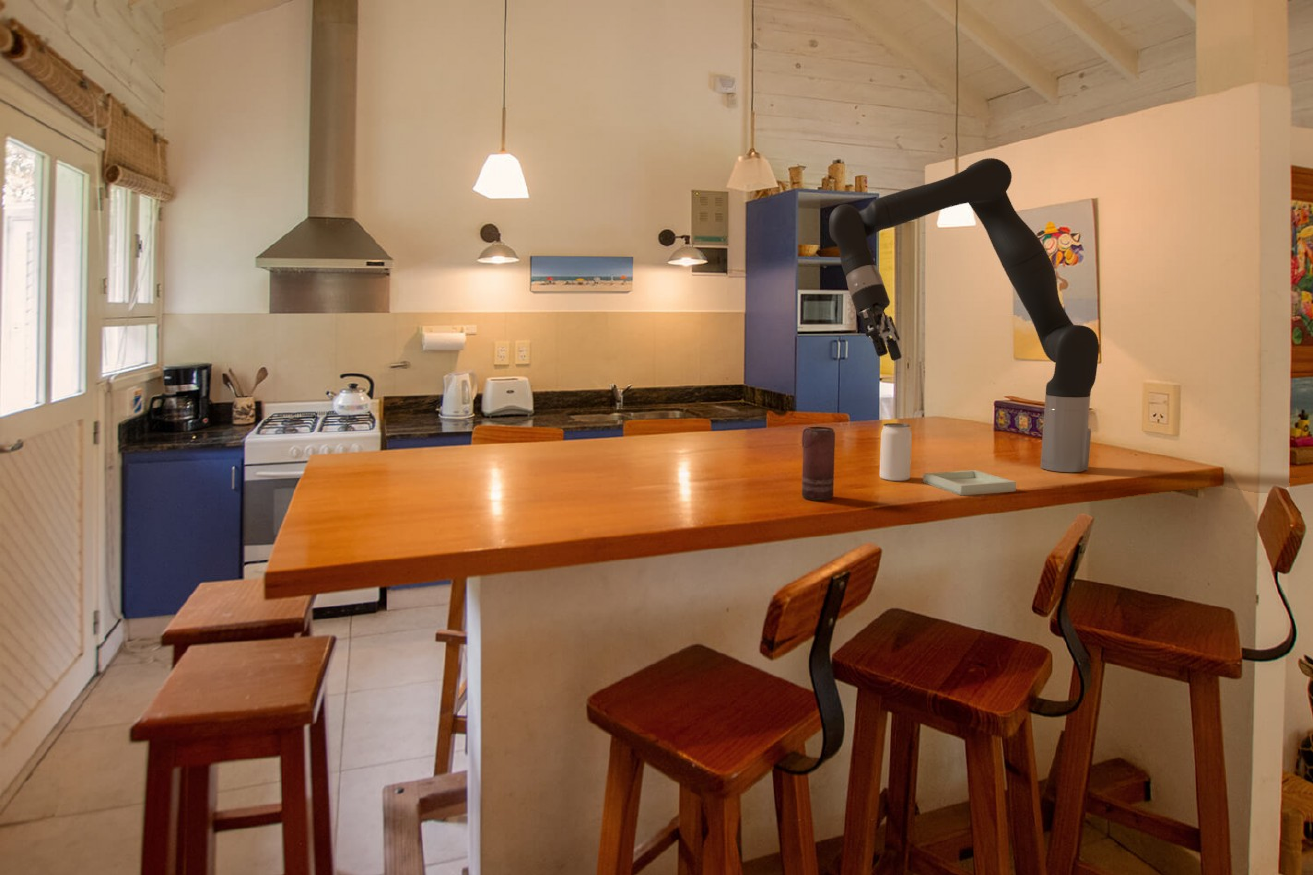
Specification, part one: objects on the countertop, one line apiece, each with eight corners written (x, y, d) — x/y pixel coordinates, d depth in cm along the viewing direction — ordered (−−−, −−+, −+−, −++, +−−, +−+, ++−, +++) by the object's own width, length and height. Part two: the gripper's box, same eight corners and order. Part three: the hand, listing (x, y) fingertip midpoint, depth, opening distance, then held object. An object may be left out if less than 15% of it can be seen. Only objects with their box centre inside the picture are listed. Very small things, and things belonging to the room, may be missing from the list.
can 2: (906, 475, 183) (908, 423, 181) (912, 481, 176) (915, 427, 174) (877, 475, 183) (879, 422, 181) (882, 481, 177) (884, 426, 175)
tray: (974, 478, 179) (975, 470, 179) (1015, 491, 167) (1016, 481, 166) (922, 482, 176) (923, 473, 175) (960, 495, 163) (961, 485, 163)
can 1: (797, 494, 164) (798, 426, 162) (828, 494, 165) (829, 425, 163) (805, 501, 158) (806, 430, 156) (837, 501, 159) (839, 430, 157)
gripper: (870, 277, 174) (894, 346, 171) (894, 288, 186) (917, 354, 182) (839, 292, 178) (862, 360, 175) (864, 302, 190) (886, 367, 186)
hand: (890, 357), depth 178 cm, fingers open, 8 cm apart
